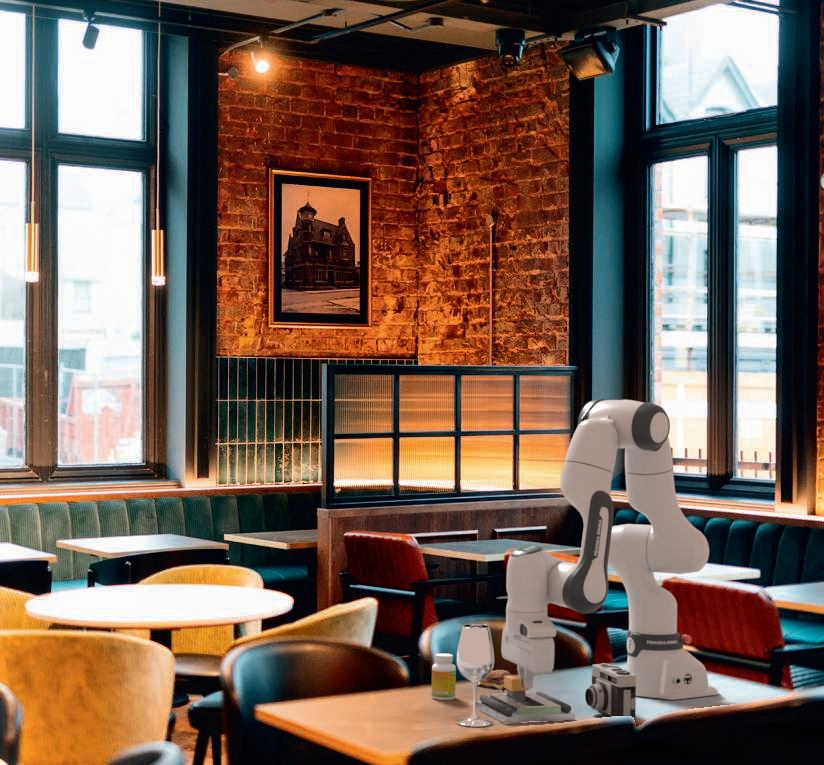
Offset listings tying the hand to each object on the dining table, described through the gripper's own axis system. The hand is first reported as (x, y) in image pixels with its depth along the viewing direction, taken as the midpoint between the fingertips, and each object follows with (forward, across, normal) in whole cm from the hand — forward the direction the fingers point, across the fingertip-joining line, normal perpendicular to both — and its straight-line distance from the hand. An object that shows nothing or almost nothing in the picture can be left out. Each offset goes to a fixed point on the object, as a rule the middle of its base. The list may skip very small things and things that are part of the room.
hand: (526, 687), depth 283 cm
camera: (+6, +4, +17) cm, 18 cm away
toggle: (+4, -4, 0) cm, 6 cm away
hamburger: (+7, -29, +6) cm, 30 cm away
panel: (+6, 0, 0) cm, 6 cm away
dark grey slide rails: (+4, 0, 0) cm, 4 cm away
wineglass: (+6, +6, -14) cm, 16 cm away
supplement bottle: (+6, -20, -12) cm, 24 cm away
